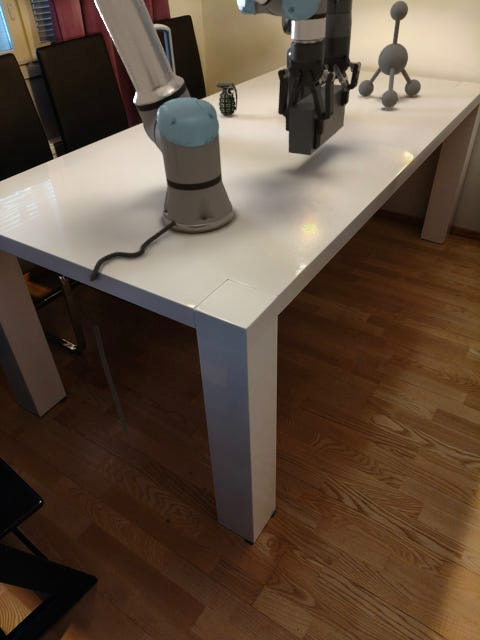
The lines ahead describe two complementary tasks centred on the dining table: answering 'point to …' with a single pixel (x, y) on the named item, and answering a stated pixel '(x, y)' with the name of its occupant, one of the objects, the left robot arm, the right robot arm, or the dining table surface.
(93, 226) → the dining table surface
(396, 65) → the molecular model
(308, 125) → the box
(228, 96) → the grenade
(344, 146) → the dining table surface
